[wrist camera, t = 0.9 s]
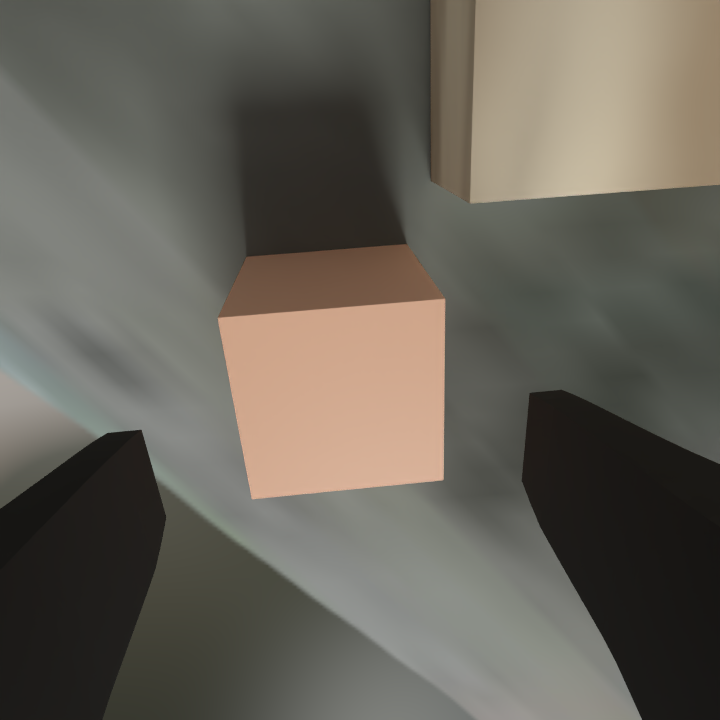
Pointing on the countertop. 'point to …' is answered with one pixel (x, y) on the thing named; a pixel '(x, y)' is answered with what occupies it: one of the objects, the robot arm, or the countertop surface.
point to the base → (573, 96)
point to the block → (336, 370)
